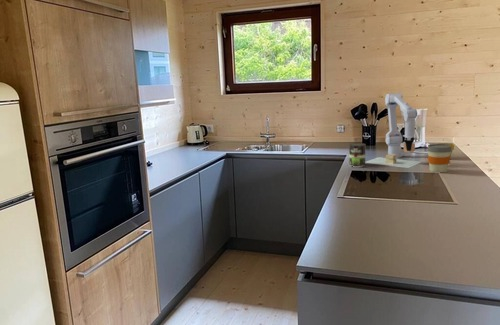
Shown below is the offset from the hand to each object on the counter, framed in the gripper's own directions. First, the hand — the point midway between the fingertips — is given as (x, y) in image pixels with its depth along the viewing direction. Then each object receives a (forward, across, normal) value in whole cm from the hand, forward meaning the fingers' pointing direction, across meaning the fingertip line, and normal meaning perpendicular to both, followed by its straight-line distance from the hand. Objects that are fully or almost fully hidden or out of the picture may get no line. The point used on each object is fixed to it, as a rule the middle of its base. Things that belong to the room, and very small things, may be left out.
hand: (409, 149), depth 241 cm
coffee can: (+10, +10, -30) cm, 33 cm away
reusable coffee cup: (+10, +15, +17) cm, 24 cm away
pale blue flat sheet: (+9, -2, -10) cm, 14 cm away
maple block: (+9, 0, -11) cm, 14 cm away
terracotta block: (+1, 0, 0) cm, 1 cm away
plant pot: (+10, -21, +21) cm, 31 cm away
